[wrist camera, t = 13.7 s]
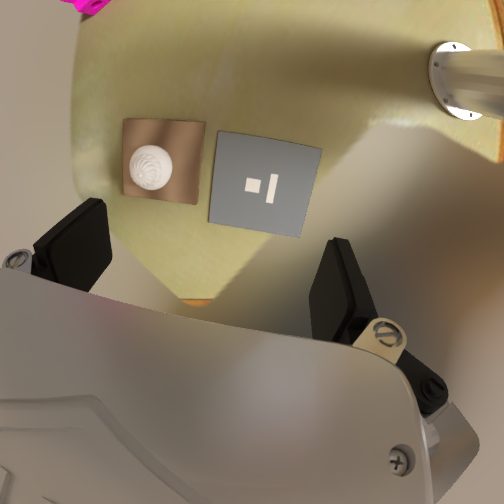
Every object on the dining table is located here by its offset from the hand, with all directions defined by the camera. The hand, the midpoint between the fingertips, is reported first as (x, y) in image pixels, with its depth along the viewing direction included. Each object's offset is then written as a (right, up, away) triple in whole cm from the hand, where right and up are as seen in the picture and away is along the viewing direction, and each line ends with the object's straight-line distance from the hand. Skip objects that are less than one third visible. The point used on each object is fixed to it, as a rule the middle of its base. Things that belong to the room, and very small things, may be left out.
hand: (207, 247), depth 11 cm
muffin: (-11, +13, +25) cm, 30 cm away
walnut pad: (-11, +13, +26) cm, 31 cm away
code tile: (+3, +9, +27) cm, 29 cm away
